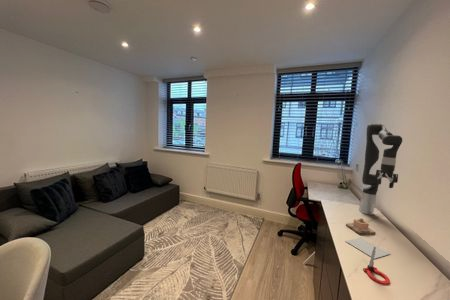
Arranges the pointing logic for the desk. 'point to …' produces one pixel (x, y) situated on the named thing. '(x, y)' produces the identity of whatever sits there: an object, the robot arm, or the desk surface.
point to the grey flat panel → (367, 247)
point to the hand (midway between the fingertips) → (384, 186)
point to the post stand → (360, 232)
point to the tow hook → (375, 270)
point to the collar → (360, 224)
